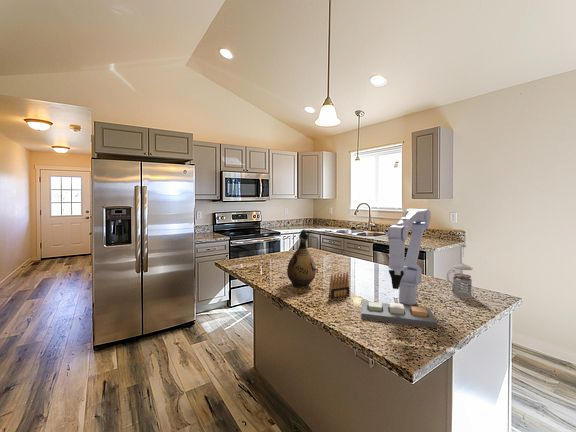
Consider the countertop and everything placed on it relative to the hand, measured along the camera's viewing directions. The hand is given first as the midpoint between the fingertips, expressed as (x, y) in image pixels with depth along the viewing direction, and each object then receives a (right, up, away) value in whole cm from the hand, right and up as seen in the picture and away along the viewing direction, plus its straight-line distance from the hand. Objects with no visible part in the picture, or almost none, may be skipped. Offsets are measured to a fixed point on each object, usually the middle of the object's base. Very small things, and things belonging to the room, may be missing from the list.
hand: (395, 288), depth 114 cm
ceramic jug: (-36, -8, +38) cm, 53 cm away
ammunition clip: (-19, -10, +18) cm, 28 cm away
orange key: (+6, -10, -6) cm, 14 cm away
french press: (+41, -10, +24) cm, 48 cm away
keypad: (-1, -11, -4) cm, 11 cm away
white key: (-1, -10, -4) cm, 10 cm away
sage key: (-9, -10, -2) cm, 13 cm away
